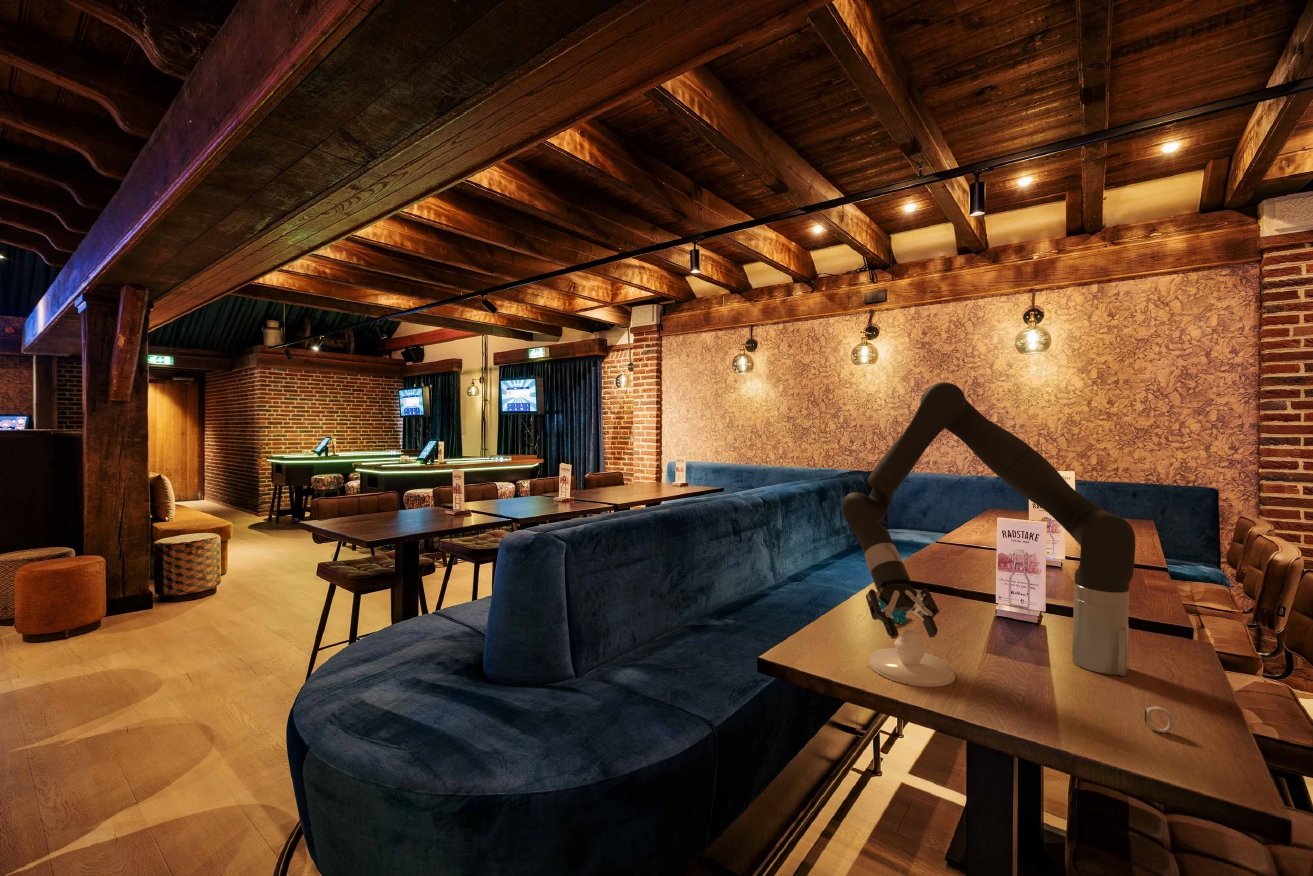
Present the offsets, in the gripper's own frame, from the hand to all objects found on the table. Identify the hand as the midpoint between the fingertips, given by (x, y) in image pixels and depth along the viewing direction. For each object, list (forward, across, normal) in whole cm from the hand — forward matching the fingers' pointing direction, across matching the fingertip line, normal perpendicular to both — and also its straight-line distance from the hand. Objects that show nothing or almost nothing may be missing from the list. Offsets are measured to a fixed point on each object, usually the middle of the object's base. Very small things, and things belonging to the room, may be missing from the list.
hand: (914, 636), depth 118 cm
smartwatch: (+24, +28, -13) cm, 39 cm away
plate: (+4, 0, +6) cm, 8 cm away
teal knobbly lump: (-16, +13, +27) cm, 34 cm away
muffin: (+3, 0, +6) cm, 6 cm away
